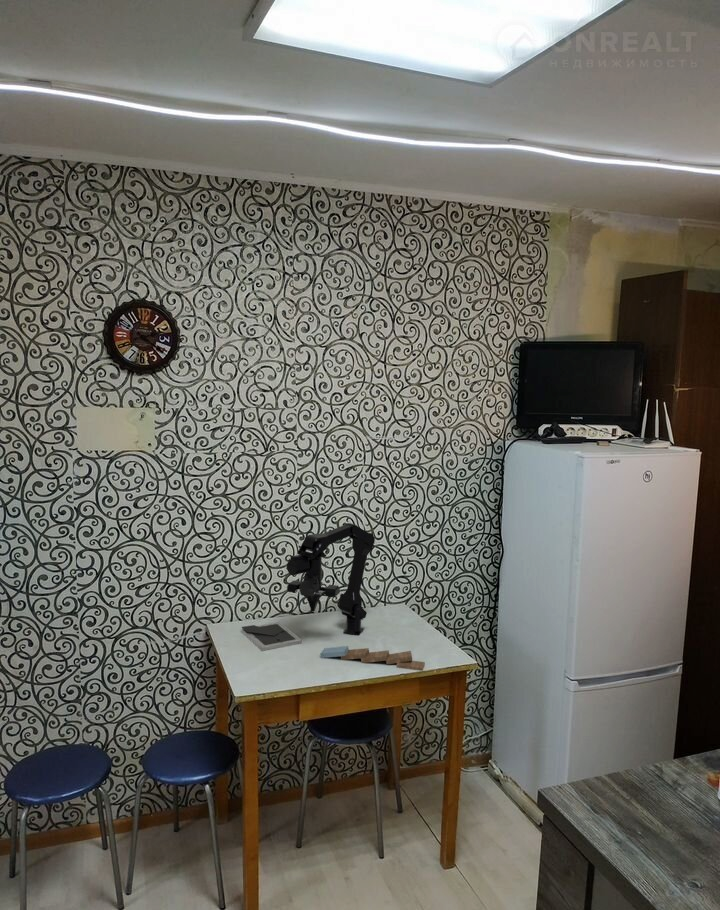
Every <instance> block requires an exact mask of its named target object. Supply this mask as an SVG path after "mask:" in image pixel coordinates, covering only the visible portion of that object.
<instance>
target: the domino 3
mask: <svg viewBox="0 0 720 910" xmlns="http://www.w3.org/2000/svg"><path fill="white" fill-rule="evenodd" d="M389 654H390V652H389V650H387V649H386V650H381V651H369V654H368V655H367V656H366V658H360V660H361V664H365V663H374V662H376V663H377V662H384V661H385V662H386V660H387V659H388V657H389Z"/></svg>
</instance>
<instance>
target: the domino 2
mask: <svg viewBox="0 0 720 910" xmlns="http://www.w3.org/2000/svg"><path fill="white" fill-rule="evenodd" d="M369 652H370V648H369V647H367V648H366V647H364V648H353V649H349V651H348V652H347V654H346V655H345V656H340V660H341V661H344V660H345V661H346V660H356V659H361V658H366V656H367V655H368V654H369Z"/></svg>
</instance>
